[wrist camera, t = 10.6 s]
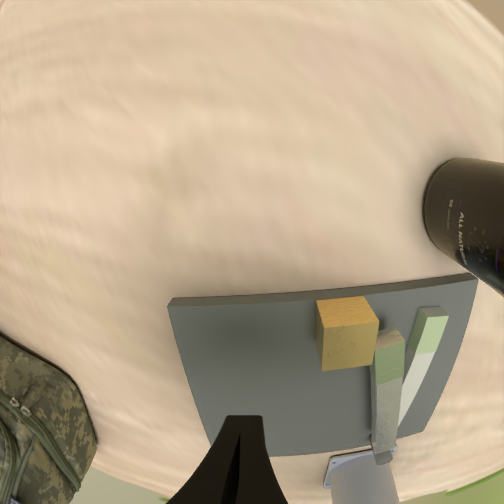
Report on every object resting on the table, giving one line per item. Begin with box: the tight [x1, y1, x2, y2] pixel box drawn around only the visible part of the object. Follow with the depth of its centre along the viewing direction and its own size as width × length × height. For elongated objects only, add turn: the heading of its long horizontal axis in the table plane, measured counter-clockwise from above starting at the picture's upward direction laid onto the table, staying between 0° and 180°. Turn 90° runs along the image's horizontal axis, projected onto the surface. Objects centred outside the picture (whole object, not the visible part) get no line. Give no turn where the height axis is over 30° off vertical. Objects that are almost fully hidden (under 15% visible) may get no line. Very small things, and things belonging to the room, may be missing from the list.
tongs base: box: [167, 273, 478, 465], centre depth 18 cm, size 18×22×5 cm
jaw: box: [369, 326, 405, 455], centre depth 16 cm, size 13×2×2 cm, turn 17°
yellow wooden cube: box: [315, 296, 379, 371], centre depth 15 cm, size 3×3×3 cm
